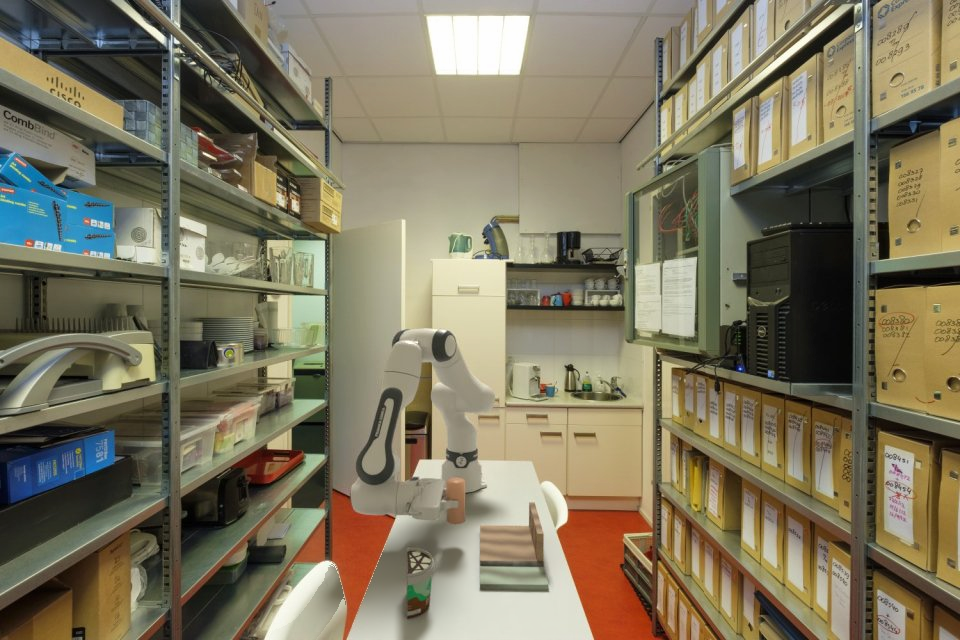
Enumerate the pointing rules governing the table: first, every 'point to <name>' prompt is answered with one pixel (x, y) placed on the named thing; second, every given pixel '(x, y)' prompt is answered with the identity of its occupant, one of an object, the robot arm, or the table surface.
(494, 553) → the brown wooden l-shaped board
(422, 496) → the robot arm
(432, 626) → the table surface
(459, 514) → the peach cylinder
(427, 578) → the food container
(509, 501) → the table surface
